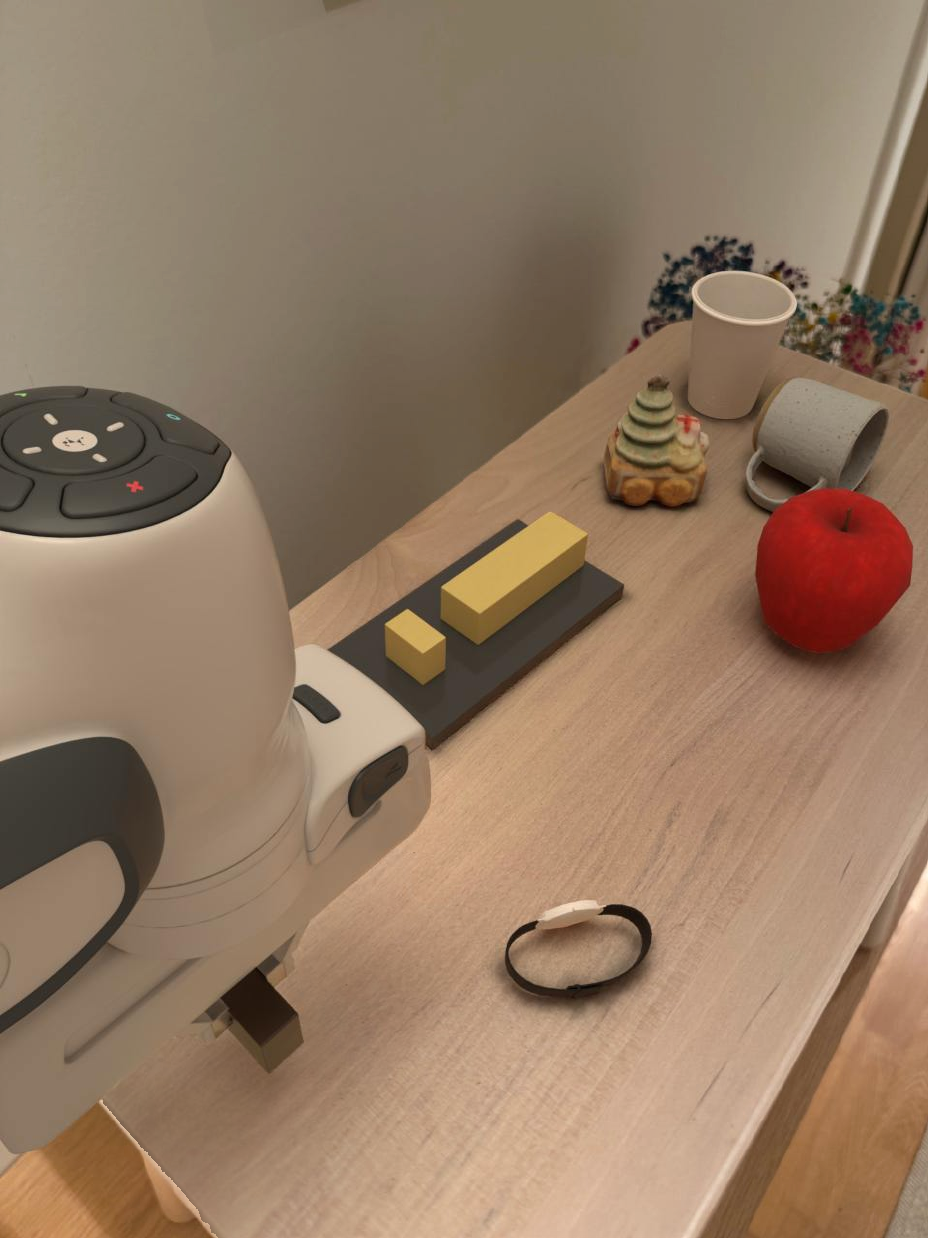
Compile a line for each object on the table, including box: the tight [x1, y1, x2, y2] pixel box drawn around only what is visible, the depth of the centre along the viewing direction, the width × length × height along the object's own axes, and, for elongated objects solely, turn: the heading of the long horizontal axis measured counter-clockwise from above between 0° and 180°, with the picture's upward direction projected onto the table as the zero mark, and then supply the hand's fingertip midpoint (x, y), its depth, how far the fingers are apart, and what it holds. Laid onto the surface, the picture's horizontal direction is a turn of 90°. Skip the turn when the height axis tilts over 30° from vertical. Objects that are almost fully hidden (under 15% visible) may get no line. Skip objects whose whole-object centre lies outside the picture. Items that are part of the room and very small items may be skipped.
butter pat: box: [385, 609, 446, 685], centre depth 67 cm, size 2×4×3 cm, turn 45°
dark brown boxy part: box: [220, 968, 305, 1075], centre depth 48 cm, size 2×12×3 cm, turn 46°
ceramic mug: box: [745, 376, 890, 513], centre depth 82 cm, size 11×8×8 cm
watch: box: [504, 899, 653, 999], centre depth 54 cm, size 8×5×4 cm, turn 104°
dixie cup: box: [687, 270, 798, 420], centre depth 89 cm, size 8×8×10 cm
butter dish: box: [327, 518, 625, 750], centre depth 72 cm, size 19×10×1 cm, turn 136°
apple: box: [754, 489, 914, 654], centre depth 69 cm, size 10×10×11 cm
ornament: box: [603, 374, 711, 508], centre depth 80 cm, size 8×6×10 cm
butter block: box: [441, 510, 589, 645], centre depth 72 cm, size 11×4×3 cm, turn 136°
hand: (240, 996), depth 46 cm, fingers closed on dark brown boxy part, 2 cm apart
